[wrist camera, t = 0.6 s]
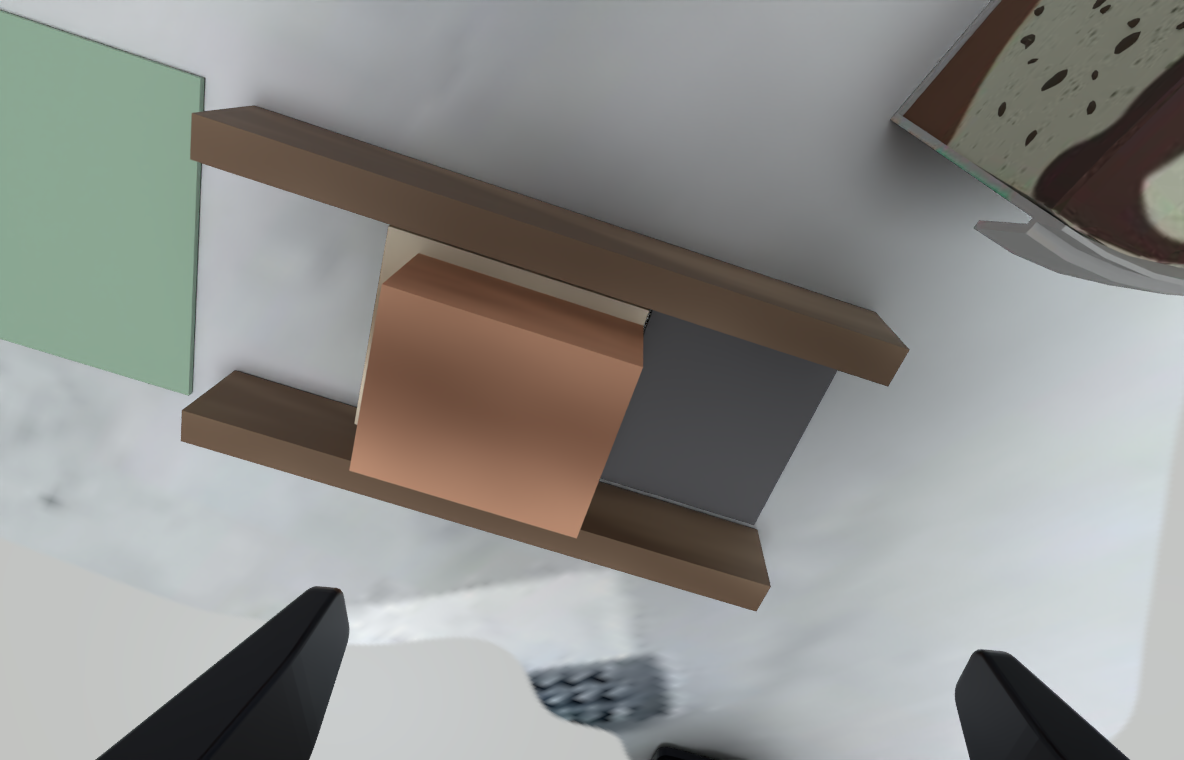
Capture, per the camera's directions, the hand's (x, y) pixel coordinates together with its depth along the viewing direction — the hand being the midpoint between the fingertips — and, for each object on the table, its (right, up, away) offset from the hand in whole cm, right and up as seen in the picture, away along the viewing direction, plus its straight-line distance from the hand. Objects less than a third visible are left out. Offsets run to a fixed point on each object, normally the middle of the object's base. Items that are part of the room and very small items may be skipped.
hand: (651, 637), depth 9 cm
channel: (-3, +4, +13) cm, 14 cm away
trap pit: (+3, +2, +14) cm, 14 cm away
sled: (-4, +5, +13) cm, 14 cm away
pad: (-19, +10, +12) cm, 24 cm away
